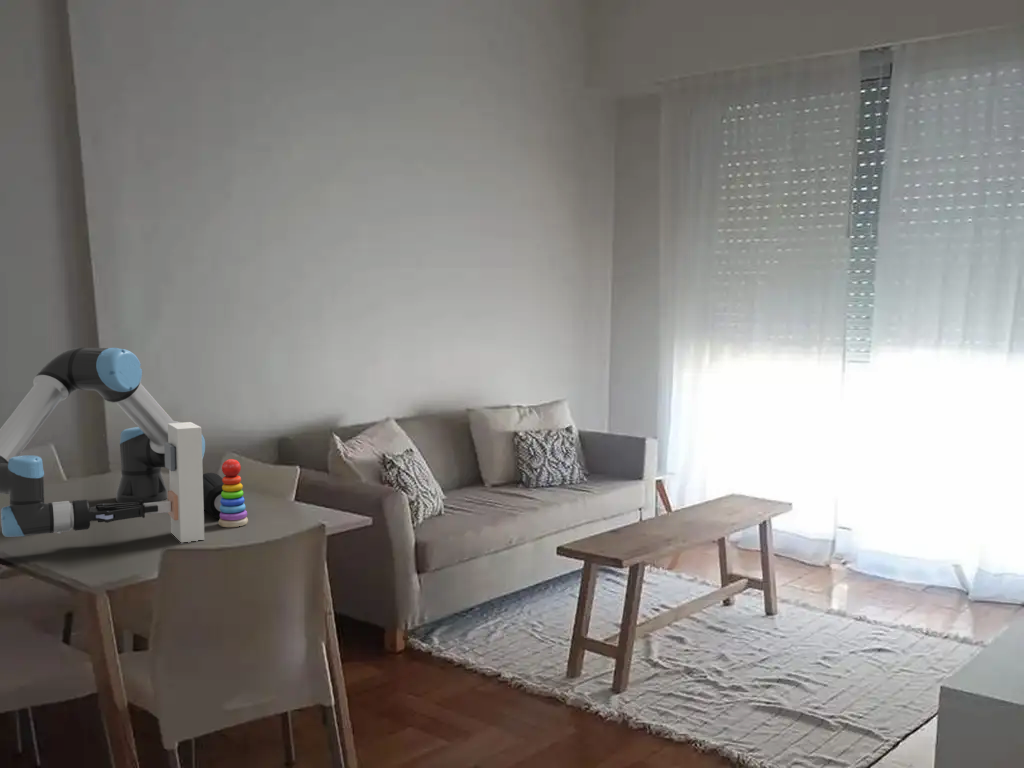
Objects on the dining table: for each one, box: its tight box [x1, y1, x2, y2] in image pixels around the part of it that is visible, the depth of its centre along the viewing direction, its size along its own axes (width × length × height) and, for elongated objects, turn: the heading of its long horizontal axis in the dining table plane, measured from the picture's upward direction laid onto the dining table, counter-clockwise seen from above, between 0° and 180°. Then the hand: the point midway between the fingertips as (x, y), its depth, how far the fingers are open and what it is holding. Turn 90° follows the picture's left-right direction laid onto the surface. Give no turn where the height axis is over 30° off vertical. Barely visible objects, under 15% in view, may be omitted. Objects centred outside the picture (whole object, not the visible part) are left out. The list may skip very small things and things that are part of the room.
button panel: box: [168, 421, 205, 543], centre depth 245 cm, size 12×6×30 cm, turn 32°
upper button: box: [164, 443, 177, 471], centre depth 244 cm, size 8×7×6 cm
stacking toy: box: [218, 458, 249, 528], centre depth 259 cm, size 8×8×19 cm
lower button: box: [167, 490, 178, 520], centre depth 246 cm, size 8×7×6 cm
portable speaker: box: [203, 472, 224, 519], centre depth 276 cm, size 26×10×10 cm, turn 29°
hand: (170, 506), depth 243 cm, fingers closed
